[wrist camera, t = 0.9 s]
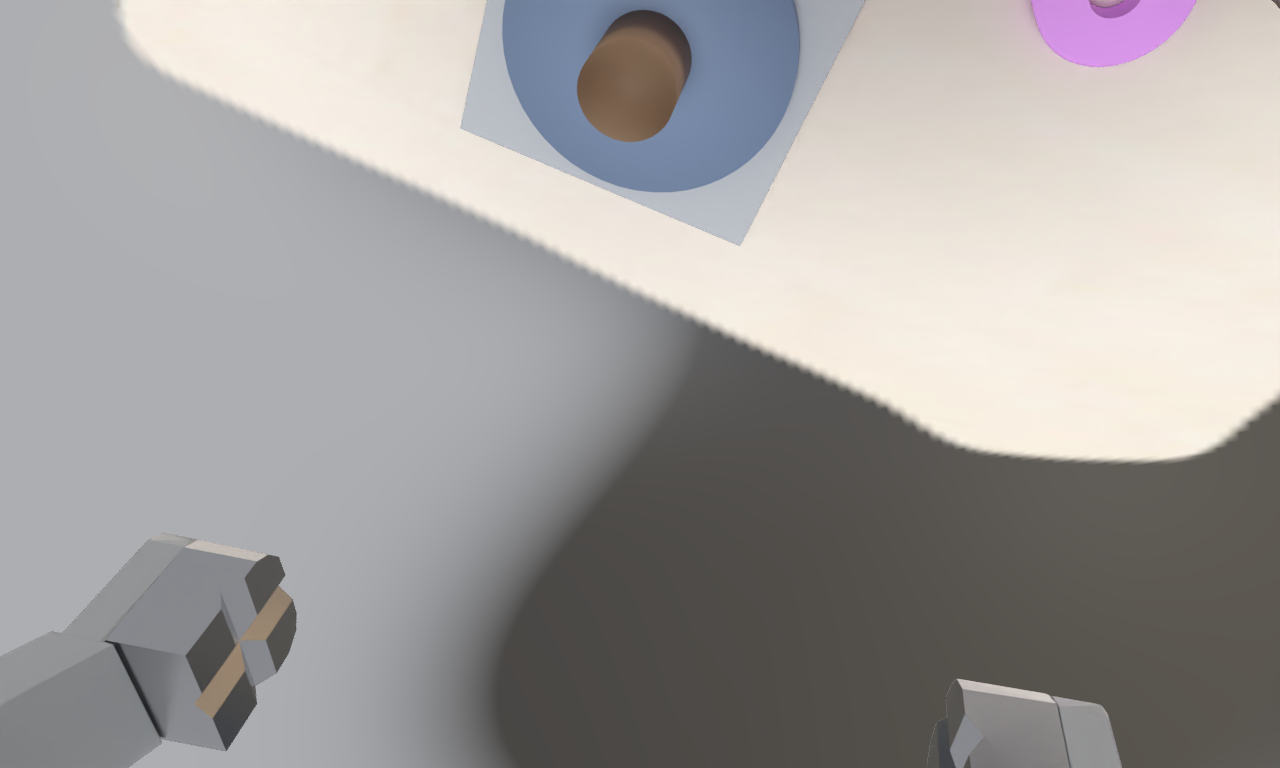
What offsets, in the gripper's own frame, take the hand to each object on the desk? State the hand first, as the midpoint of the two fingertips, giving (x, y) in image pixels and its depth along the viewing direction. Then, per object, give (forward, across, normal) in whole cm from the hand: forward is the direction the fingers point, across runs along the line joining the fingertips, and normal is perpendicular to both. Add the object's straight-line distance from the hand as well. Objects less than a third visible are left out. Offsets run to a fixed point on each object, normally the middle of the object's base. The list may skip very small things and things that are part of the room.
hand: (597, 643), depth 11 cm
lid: (+33, +6, +2) cm, 34 cm away
